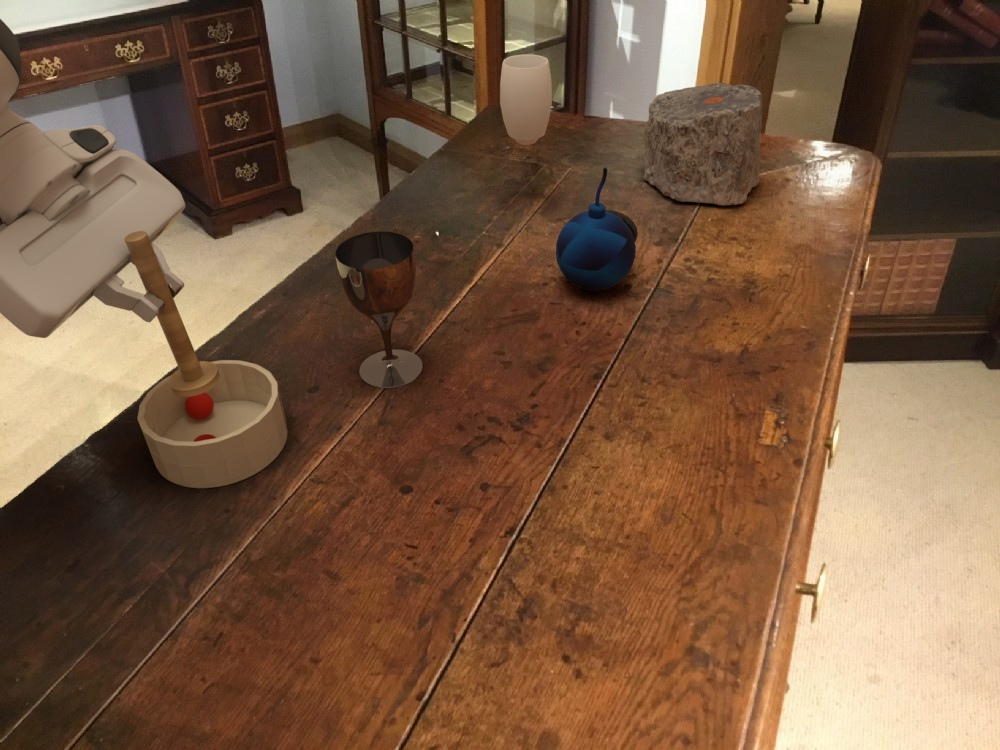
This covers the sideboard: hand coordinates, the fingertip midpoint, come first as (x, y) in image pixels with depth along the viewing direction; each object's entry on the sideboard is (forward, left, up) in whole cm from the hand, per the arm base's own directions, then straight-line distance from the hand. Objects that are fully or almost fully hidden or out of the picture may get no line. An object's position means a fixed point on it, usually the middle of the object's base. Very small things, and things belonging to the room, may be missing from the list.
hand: (168, 303), depth 73 cm
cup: (+27, +58, -19) cm, 67 cm away
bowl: (-1, +3, -18) cm, 19 cm away
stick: (0, 0, -8) cm, 8 cm away
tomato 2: (-1, 0, -16) cm, 16 cm away
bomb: (+37, +35, -19) cm, 54 cm away
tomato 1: (-4, +6, -16) cm, 18 cm away
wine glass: (+14, +16, -19) cm, 28 cm away
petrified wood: (+53, +65, -19) cm, 86 cm away
